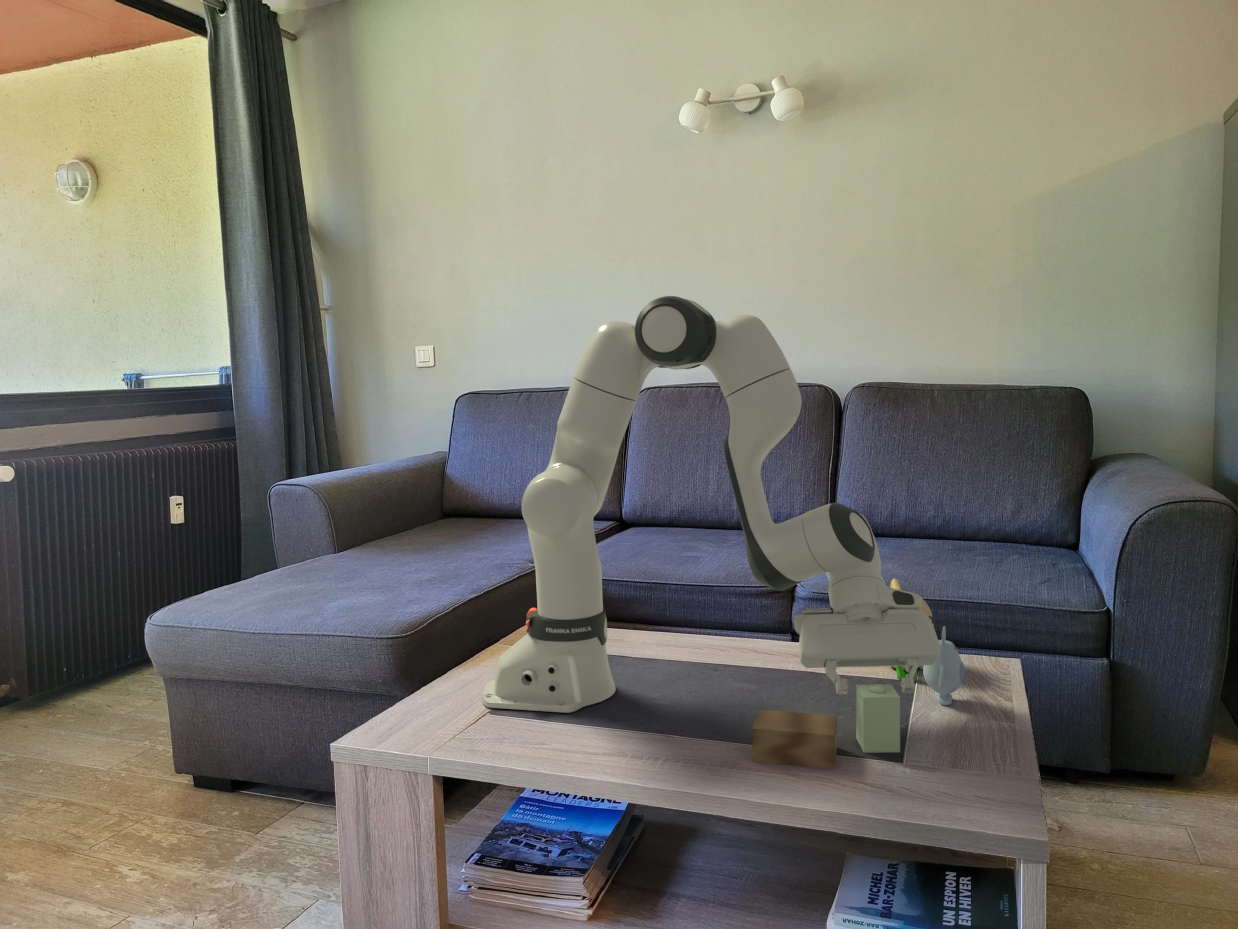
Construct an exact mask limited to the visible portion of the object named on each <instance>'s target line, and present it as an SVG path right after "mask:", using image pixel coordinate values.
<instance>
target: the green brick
mask: <svg viewBox="0 0 1238 929" xmlns="http://www.w3.org/2000/svg"><path fill="white" fill-rule="evenodd" d="M855 719H856V720H855V723H856V724H855V726H856V727H855V728H856V729H855V730H856V731H855V735H856V736H855V738H856V740H857V742H858V744H859V746H860V748H861V751H862V752H863V753H864V754H865V753H869V754H870V753H873V754H875V753H901V697H900V695H899V693H898V692H897V691H896V689H895V688H894V686H893V685H892V684H891V683H885V684H884V683H883V684H882V683H881V684H880V683H879V684H875V683H873V684H870V683H869V684H865V683H864V684H855Z"/></svg>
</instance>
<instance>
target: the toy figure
mask: <svg viewBox="0 0 1238 929" xmlns="http://www.w3.org/2000/svg"><path fill="white" fill-rule="evenodd" d="M946 637H947V630H946V626H945V625H944V626H943V627H942V630H941V639H938V642H939V646H940V654H939V656H938V658H937V660H936V661H935V663H934V664H933V665H924V668H923V669H922V670H923V671H922V672H923V678H924V680H925V682H926V684H927V685H928V687H929V688H930V689H931V690H933V691H934V692H935V693H938V697H937V701H938V703H939V704H941V706H942V705H943V706H950V705H951V704H952V699H953V695H952V693H954V692H956V691H957V690H958V689H960V687H961V686H962V685H963V684H964V682H965V676H966V669H965V665H964V663H963V661H962V659H961V656H960V653H959V651H958V649H957V646H956V645H955V644H954V643H953V642H952V641H950V640H946Z"/></svg>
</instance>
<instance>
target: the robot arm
mask: <svg viewBox="0 0 1238 929" xmlns="http://www.w3.org/2000/svg"><path fill="white" fill-rule="evenodd" d="M788 362H789V361H788V360H787V358H786V356H785V354H784V353H783V351H782V349H781V347H780V345H779V344H778V342H777V340H776V339H775V337H774V336H773V334H772V333H771V331H770V330H769V328H768V327H767V326H766V324H765V322H763V321H762V319H760V318H759V317H757V316H756V315H750V314H738V315H734V316H733V317H729V318H727V319H724V320H722V321H721V320H718V321H716V320H715V318H714V317H713V315H712V314H711V313H710V312H709V311H708V310H707V309H706V308H704V307H703V306H701V305H700V304H699V303H698V302H695V301H693V300H691V299H687V298H683V297H680V296H675V295H665V296H661V297H658V298H655V299H653V300H651V301H650V302H647V304H646V305H645V306H644V307H643V308H642V309H641V310H640V312H639V314H638V315H637V318H636V320H635V323H634V324H633V323H632V324H631V323H629V322H624V321H619V320H618V321H617V320H615V321H608V322H605V323H603V324H601V325H600V326H599V327H598V328H597V329H596V330H595V332H594V334H593V335H592V337H591V339H590V341H589V342H588V344H587V346H586V348H585V350H584V352H583V354H582V356H581V357H580V361H579V363H578V365H577V367H576V369H575V373H574V374H573V375H574V376H573V378H572V381H571V384H570V386H569V389H568V391H567V394H566V397H565V400H564V403H563V406H562V409H561V412H560V415H559V418H558V420H557V422H556V423H557V426H556V428H557V429H556V434H555V438H554V443H553V448H552V452H551V455H550V460H549V463H548V465H547V467H546V469H545V470H544V471H542V472H541V473H539V474H537V475H536V476H535V477H533V478H532V479H531V481H530V482H529V483H528V485H527V486H526V488H525V491H524V493H523V496H522V499H521V514H522V517H523V520H524V522H525V524H526V528H527V535H528V540H529V544H530V548H531V551H532V552H531V553H532V556H533V564H534V569H535V584H536V586H535V587H536V601H537V603H536V605H537V608H536V607H531V608H530V609H529V610H528V611H527V613H526V618H525V628H526V634H525V635H524V636H523V637H521V638H520V639H518V641H517V642H516V643H514V644H513V645H512V646H510V647H509V648H508V649H507V650H506V651H505V652H504V653H503V654H502V655H501V657H500V658H499V660H498V662H497V665H496V670H495V676H494V677H493V678H492V679H491V680H490V681H489V682H487V684H486V685H485V686H484V687H483V688H484V689H483V691H482V696H481V697H482V698H481V701H482V703H483V705H484V706H485V707H487V708H490V709H491V708H492V709H504V710H505V709H506V710H507V709H508V710H521V711H536V712H539V711H540V712H550V713H567V714H568V713H573V712H577V711H578V710H581V708H583V707H584V708H585V707H586V706H587V707H588V706H591V705H595V704H597V703H601V702H603V701H605V700H607V699H609V698H611V697H612V696H613V695H614V694H615V693H616V690H617V689H616V685H615V682H614V678H613V676H612V672H611V669H610V663H609V659H608V658H609V657H608V652H607V644H606V643H607V639H608V620H607V615H606V614H607V612H606V609H605V608H604V604H603V603H604V602H603V600H604V599H603V578H602V575H603V574H602V562H601V560H600V557H599V553H598V552H599V551H598V547H597V542H596V541H597V540H596V535H595V534H596V533H595V527H594V517H595V516H596V515H597V514H598V513H599V511H600V510H601V508H602V506H603V503H604V501H605V498H606V496H607V492H608V489H609V486H610V483H611V479H612V476H613V473H614V470H615V465H616V463H617V459H618V455H619V453H620V452H619V451H620V449H621V445H622V443H623V439H624V436H625V434H626V431H627V430H628V429H627V428H628V425H629V423H630V421H631V418H632V415H633V413H634V409H635V407H636V405H637V402H638V399H639V396H640V393H641V390H642V387H643V385H644V383H645V380H646V379H647V377H648V375H649V374H650V373H651V372H652V371H653V370H654V369H656V368H658V369H659V368H660V369H671V370H691V369H696V368H698V367H700V366H703V367H705V368H707V369H708V370H710V371H711V373H712V374H713V376H714V377H715V379H716V380H717V383H718V384H719V387H720V390H721V392H722V395H723V397H724V398H725V401H726V404H727V407H728V412H729V420H730V422H729V424H730V425H729V431H728V433H727V434H726V436H725V437H724V439H723V450H724V457H725V464H726V467H727V472H728V476H729V480H730V484H731V488H732V492H733V495H734V499H735V504H736V507H737V512H738V516H739V518H740V520H739V521H740V523H741V528H742V530H743V535H744V542H745V550H746V558H747V562H748V566H749V567H750V570H751V573H752V576H753V577H754V578H755V579H756V581H757V582H758V583H760V584H762V585H763V586H766V587H768V588H769V589H772V590H776V591H781V592H783V591H785V590H787V589H790V588H792V587H794V586H796V585H799V584H800V583H802V582H803V581H806V580H808V579H812V578H814V577H818V576H820V575H824V574H826V577H827V579H828V589H827V592H828V597H829V598H828V599H829V605H830V607H819V608H809V607H808V608H803V609H801V610H802V611H799V612H797V613H796V614H794V617H793V626H794V630H795V632H796V633H797V635H799V641H798V650H799V651H798V653H799V662H800V664H801V665H802V666H803V667H805V668H806V669H824V671H825V675H827V677H828V678H829V679H830V681H831V682H832V683H833V684H835V685H834V686H835V692H836V695H848V692H849V686H848V679H847V678H842V677H841V676H840V675H839V674H838V672H837V671H836V670H837V668H863V667H864V668H865V667H866V668H871V667H872V668H873V667H874V668H875V667H876V668H877V667H892V666H905V669H906V670H905V671H906V672H907V673H908V672H910V674H909V676H908V675H907V676H908V677H907V676H906V677H903V678H902V679H901V681H900V687H901V688H902V689H901V691H902V693H904V694H913V693H914V692H915V689H916V687H915V686H916V685H915V681H914V680H913V677H914V675H915V673H916V670H918V669H919V667H918V666H923V665H933V664H934V663H935V661H936V660H937V658H938V656H939V654H940V646H939V642H938V640H939V639H938V635H937V632H936V630H935V626H934V627H933V624H932V622H931V620H930V618H929V617H928V615H927V614H926V613H924V612H923V611H921V606H922V601H921V598H922V597H921V596H920V595H919V594H917V593H914V592H911V593H909V592H910V591H906V590H905V591H904V590H902V589H901V590H902V591H901V590H897V589H894V588H890V586H888V585H887V584H886V582H885V580H884V578H883V577H882V573H881V572H882V571H881V570H882V560H881V555H880V552H879V551H880V550H879V548H878V545H877V540H876V538H875V535H874V533H873V531H872V528H871V525H870V524H869V521H868V520H867V518H866V517H865V516H864V515H863V514H861V513H860V512H858V511H857V510H855V509H853V508H851V507H849V506H847V505H845V504H843V503H838V502H832V503H828V504H825V505H822V506H819V507H816V508H814V509H811V510H809V511H808V510H807V511H806V512H805V513H803V514H800V515H798V516H795V517H792V518H790V519H787V520H785V521H782V522H778V523H775V522H774V520H773V519H772V516H771V513H770V509H769V504H768V500H767V497H766V494H765V489H764V485H763V481H762V475H761V469H762V465H763V464H764V460H765V459H766V457H767V456H768V454H769V453H770V452H771V451H772V449H773V448H775V446H776V445H777V444H779V442H781V440H783V438H785V436H787V434H788V433H789V432H790V431H791V430H792V428H793V427H794V425H795V424H796V422H797V420H798V419H799V415H800V413H801V409H802V395H801V391H800V388H799V384H798V382H797V380H796V377H795V375H794V373H793V370H792V369H791V366H790V364H789V363H788ZM920 597H921V598H920ZM906 672H905V673H906Z"/></svg>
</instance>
